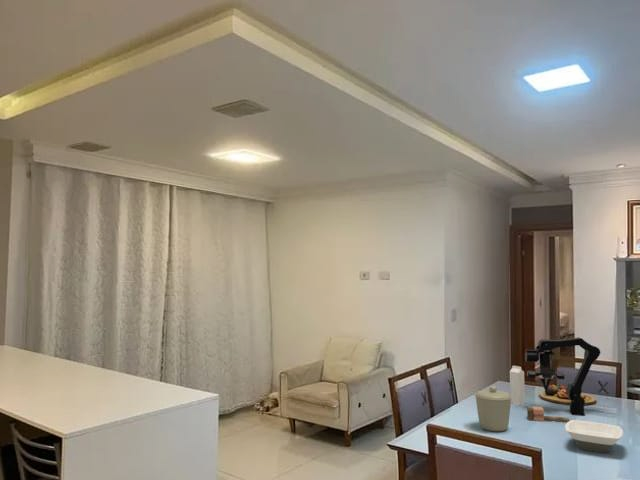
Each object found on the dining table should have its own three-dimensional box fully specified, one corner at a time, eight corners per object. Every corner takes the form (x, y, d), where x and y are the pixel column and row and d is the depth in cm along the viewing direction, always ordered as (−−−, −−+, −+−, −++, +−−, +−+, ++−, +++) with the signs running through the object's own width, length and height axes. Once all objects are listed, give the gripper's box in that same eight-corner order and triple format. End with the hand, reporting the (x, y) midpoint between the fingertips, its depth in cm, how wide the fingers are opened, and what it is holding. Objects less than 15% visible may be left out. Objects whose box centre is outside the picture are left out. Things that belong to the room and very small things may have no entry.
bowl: (623, 460, 210) (622, 439, 211) (563, 450, 222) (562, 430, 223) (624, 445, 229) (623, 426, 230) (568, 436, 241) (568, 418, 242)
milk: (519, 405, 298) (518, 367, 299) (510, 403, 303) (509, 365, 304) (525, 403, 302) (524, 366, 303) (515, 401, 307) (514, 364, 308)
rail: (567, 419, 268) (567, 410, 269) (570, 423, 262) (569, 413, 262) (527, 416, 274) (527, 407, 275) (528, 420, 268) (528, 410, 268)
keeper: (542, 417, 272) (542, 407, 272) (543, 420, 266) (543, 410, 266) (532, 416, 274) (532, 406, 274) (533, 420, 267) (533, 409, 267)
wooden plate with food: (602, 408, 293) (601, 393, 293) (542, 403, 302) (542, 389, 303) (590, 396, 323) (589, 383, 324) (536, 392, 333) (536, 379, 333)
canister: (499, 422, 264) (499, 381, 266) (520, 433, 247) (519, 389, 248) (468, 424, 260) (467, 382, 262) (487, 435, 243) (486, 390, 244)
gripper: (528, 363, 280) (529, 392, 279) (565, 365, 274) (566, 395, 273) (526, 360, 290) (527, 388, 289) (562, 362, 285) (563, 390, 284)
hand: (545, 390), depth 284 cm, fingers closed
